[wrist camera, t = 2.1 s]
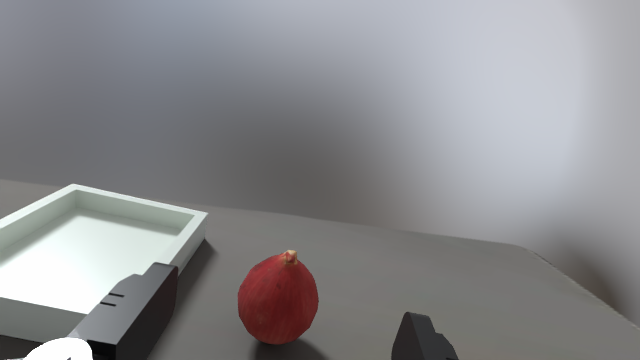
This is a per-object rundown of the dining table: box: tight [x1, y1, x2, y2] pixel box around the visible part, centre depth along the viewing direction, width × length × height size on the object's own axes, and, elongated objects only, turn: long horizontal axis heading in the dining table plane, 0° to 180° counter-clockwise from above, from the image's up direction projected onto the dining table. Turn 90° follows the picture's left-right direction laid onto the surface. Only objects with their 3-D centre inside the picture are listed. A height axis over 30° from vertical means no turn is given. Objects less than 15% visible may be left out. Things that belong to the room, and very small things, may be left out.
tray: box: [0, 184, 208, 343], centre depth 29 cm, size 14×16×3 cm
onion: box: [238, 250, 319, 345], centre depth 26 cm, size 6×6×8 cm
